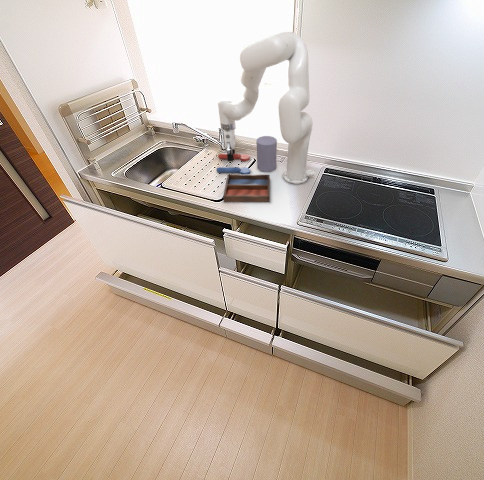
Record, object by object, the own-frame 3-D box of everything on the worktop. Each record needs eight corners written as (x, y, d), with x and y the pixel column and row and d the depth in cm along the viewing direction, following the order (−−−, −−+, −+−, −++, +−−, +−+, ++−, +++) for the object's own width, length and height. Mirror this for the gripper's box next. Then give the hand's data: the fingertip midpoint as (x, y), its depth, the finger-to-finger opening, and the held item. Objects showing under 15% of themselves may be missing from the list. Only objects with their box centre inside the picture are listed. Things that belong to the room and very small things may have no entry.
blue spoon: (250, 169, 139) (250, 165, 137) (250, 175, 135) (249, 170, 133) (217, 169, 139) (216, 164, 137) (216, 175, 135) (215, 170, 133)
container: (272, 173, 137) (273, 146, 126) (254, 170, 139) (253, 143, 128) (278, 164, 144) (279, 137, 133) (261, 161, 146) (260, 134, 135)
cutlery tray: (269, 180, 132) (269, 174, 130) (269, 202, 119) (269, 196, 117) (228, 180, 132) (227, 174, 130) (224, 202, 119) (223, 196, 117)
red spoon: (250, 156, 149) (249, 151, 147) (249, 161, 145) (249, 156, 143) (219, 156, 149) (218, 151, 147) (217, 161, 145) (217, 156, 143)
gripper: (233, 132, 128) (236, 165, 140) (236, 119, 140) (239, 149, 153) (218, 132, 128) (222, 164, 140) (222, 118, 140) (226, 149, 152)
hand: (231, 156), depth 146 cm, fingers open, 7 cm apart
